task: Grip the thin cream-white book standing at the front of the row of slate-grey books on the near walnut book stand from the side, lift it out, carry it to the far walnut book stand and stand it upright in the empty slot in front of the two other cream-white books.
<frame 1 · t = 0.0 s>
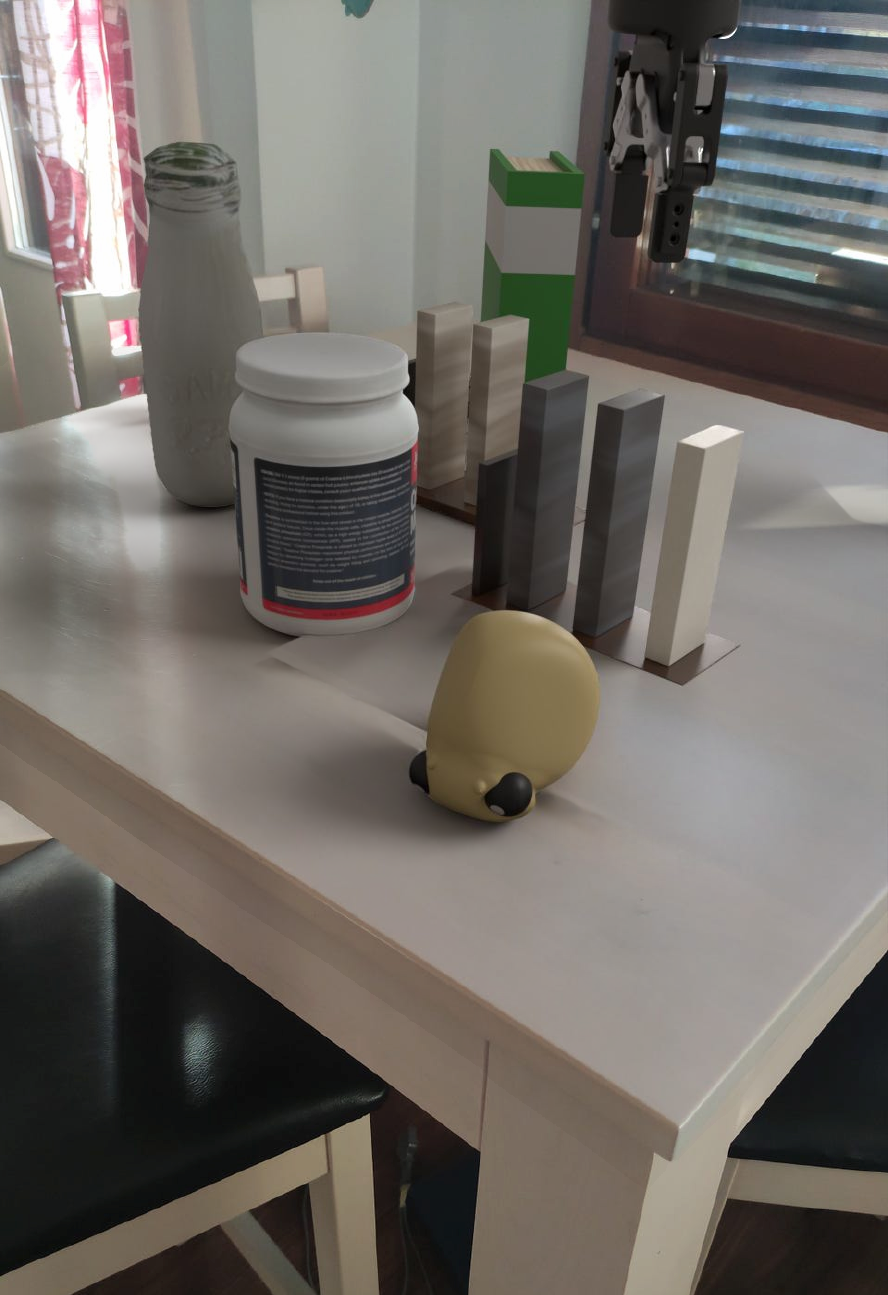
hand: (643, 248, 75), 25 cm above the table, tool pointing down, fingers open, 8 cm apart
grey book stand: (613, 639, 84), on the table
yellow toy with eyes: (500, 784, 69), on the table
supplement tub: (328, 610, 87), on the table
hardback book: (516, 401, 132), on the table
glass bottle: (215, 503, 103), on the table
creature: (450, 440, 120), on the table
thin white book: (674, 649, 81), point 1 cm above the table, touching grey book stand
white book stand: (498, 511, 104), on the table
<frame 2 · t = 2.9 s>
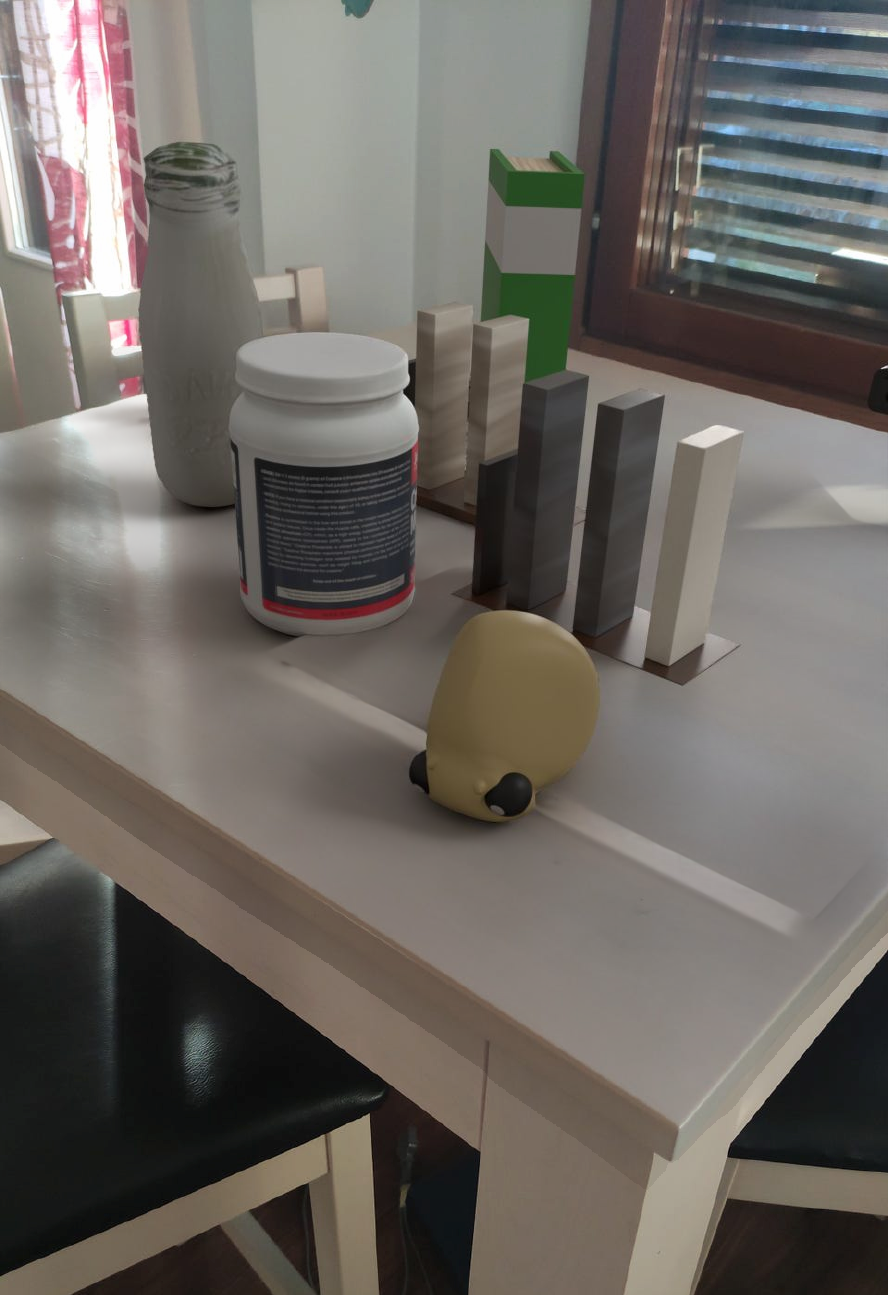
nothing on the table moved.
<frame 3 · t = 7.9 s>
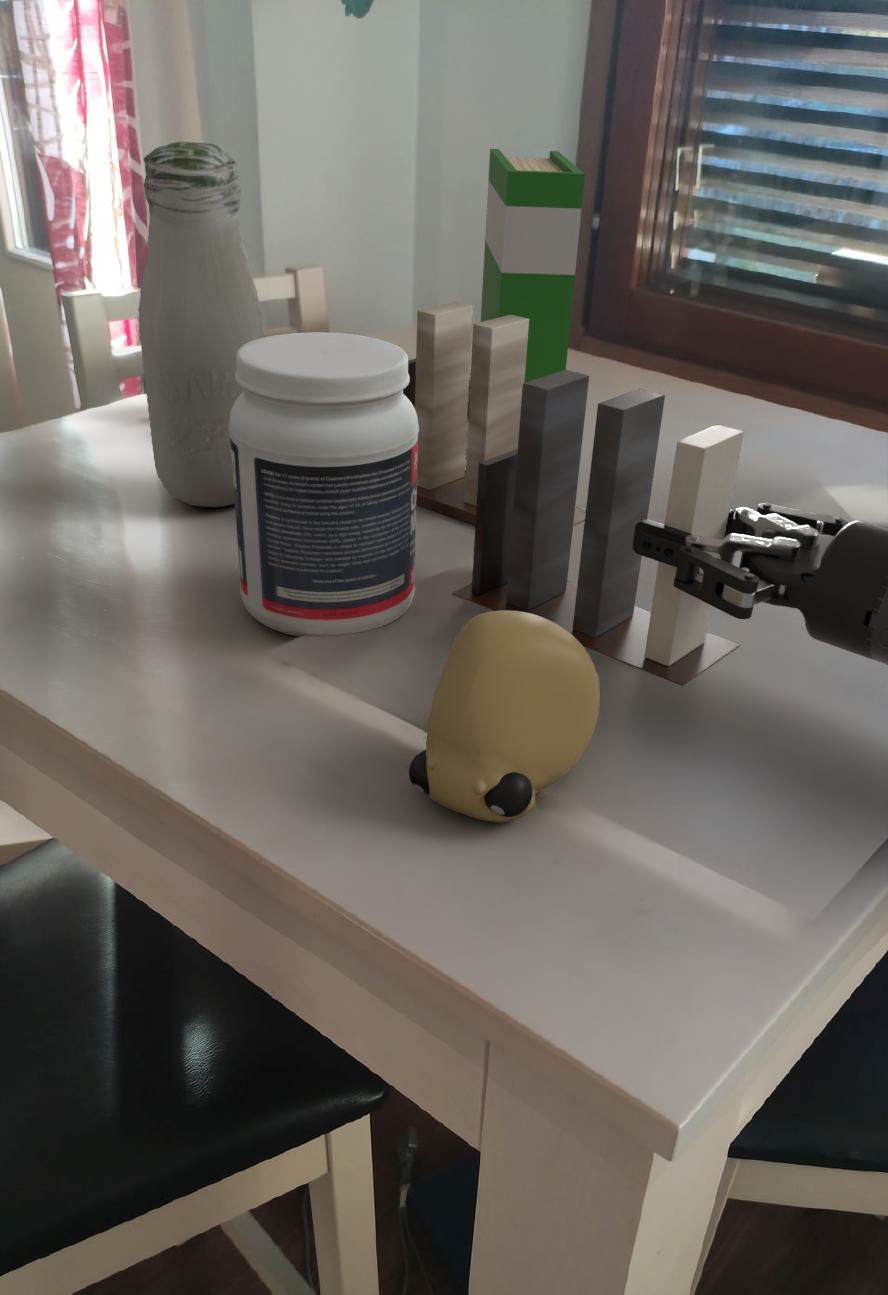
hand: (660, 523, 78), 10 cm above the table, tool horizontal, fingers closed on thin white book, 5 cm apart
thin white book: (674, 649, 81), point 1 cm above the table, touching grey book stand, gripper
everything else where it was.
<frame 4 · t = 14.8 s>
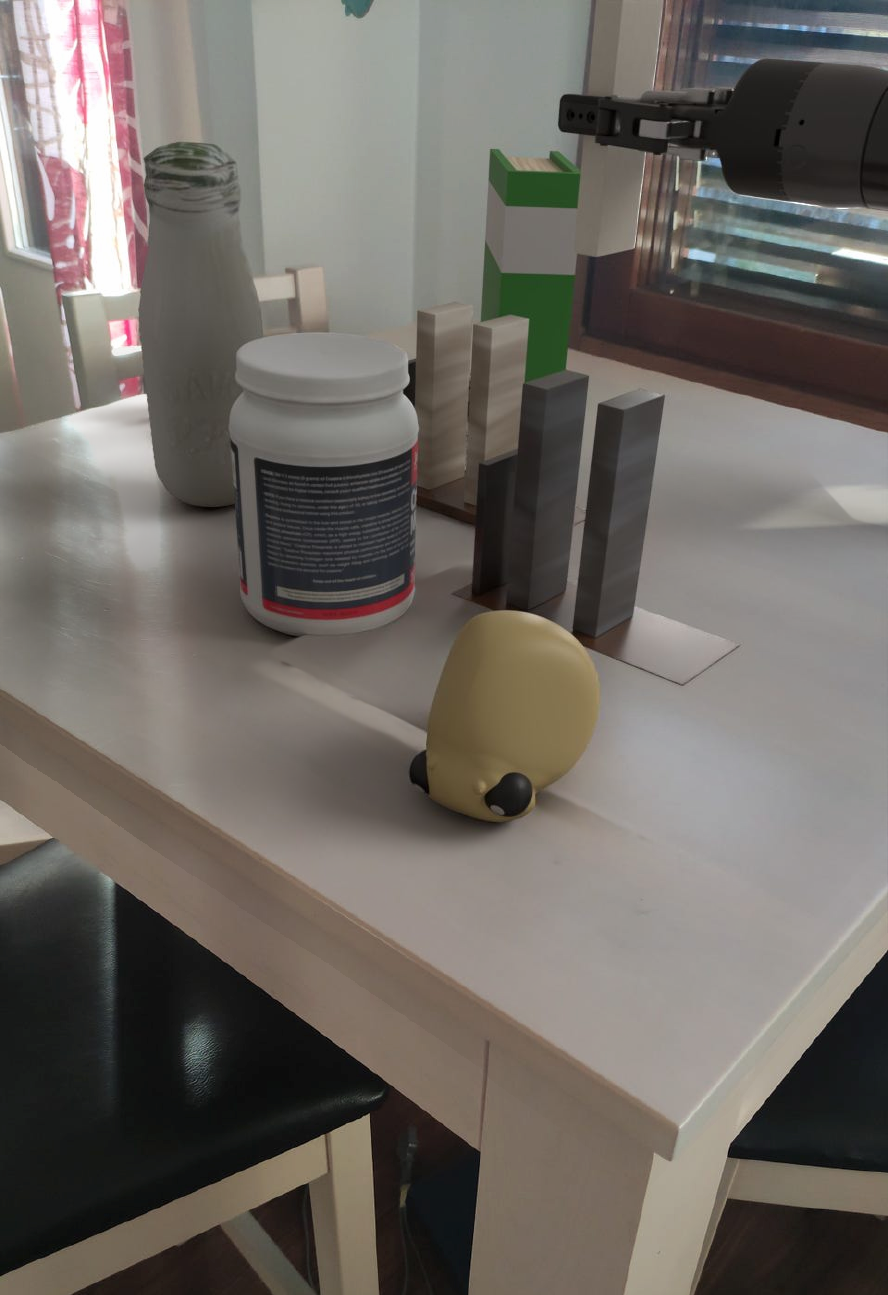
hand: (586, 110, 80), 32 cm above the table, tool horizontal, fingers closed on thin white book, 5 cm apart
thin white book: (604, 250, 83), point 23 cm above the table, touching gripper
everything else where it was.
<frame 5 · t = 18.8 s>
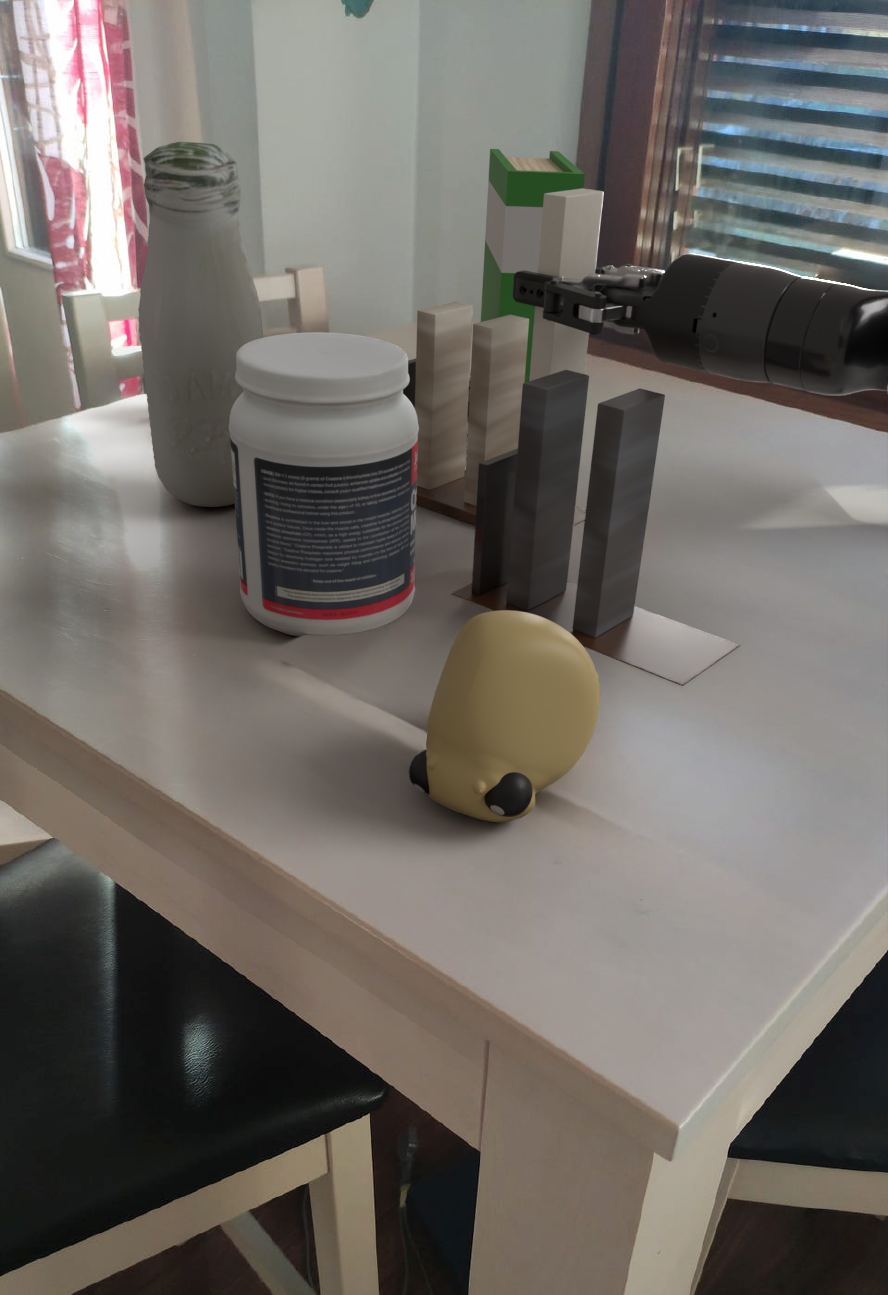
hand: (538, 280, 91), 20 cm above the table, tool horizontal, fingers closed on thin white book, 5 cm apart
thin white book: (555, 397, 95), point 11 cm above the table, touching gripper
everything else where it was.
when the fingers open (9 cm above the table, at t = 22.0 s): thin white book stays where it is, resting on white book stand.
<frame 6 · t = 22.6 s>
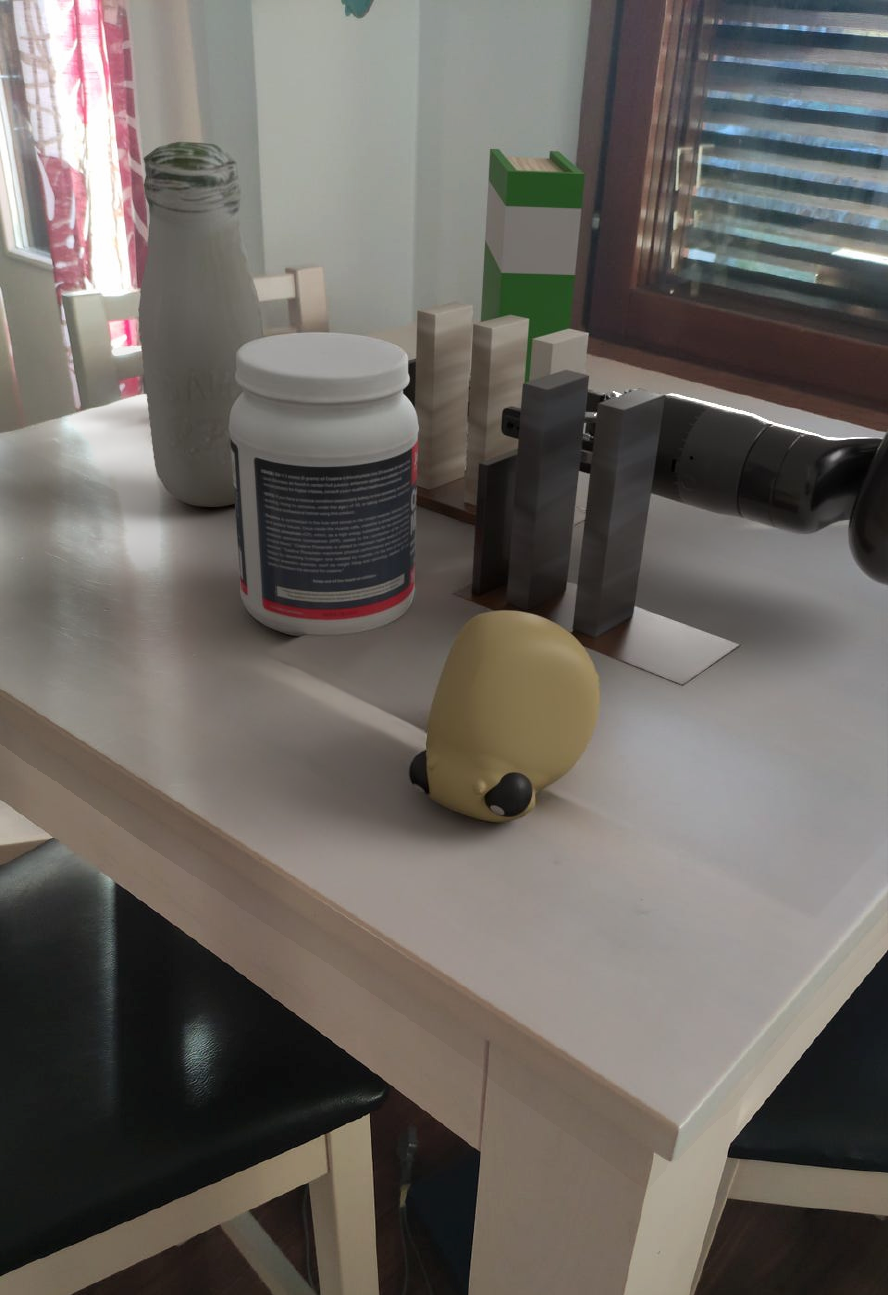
hand: (535, 408, 97), 10 cm above the table, tool horizontal, fingers open, 8 cm apart
thin white book: (544, 516, 101), point 1 cm above the table, touching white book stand
everything else where it was.
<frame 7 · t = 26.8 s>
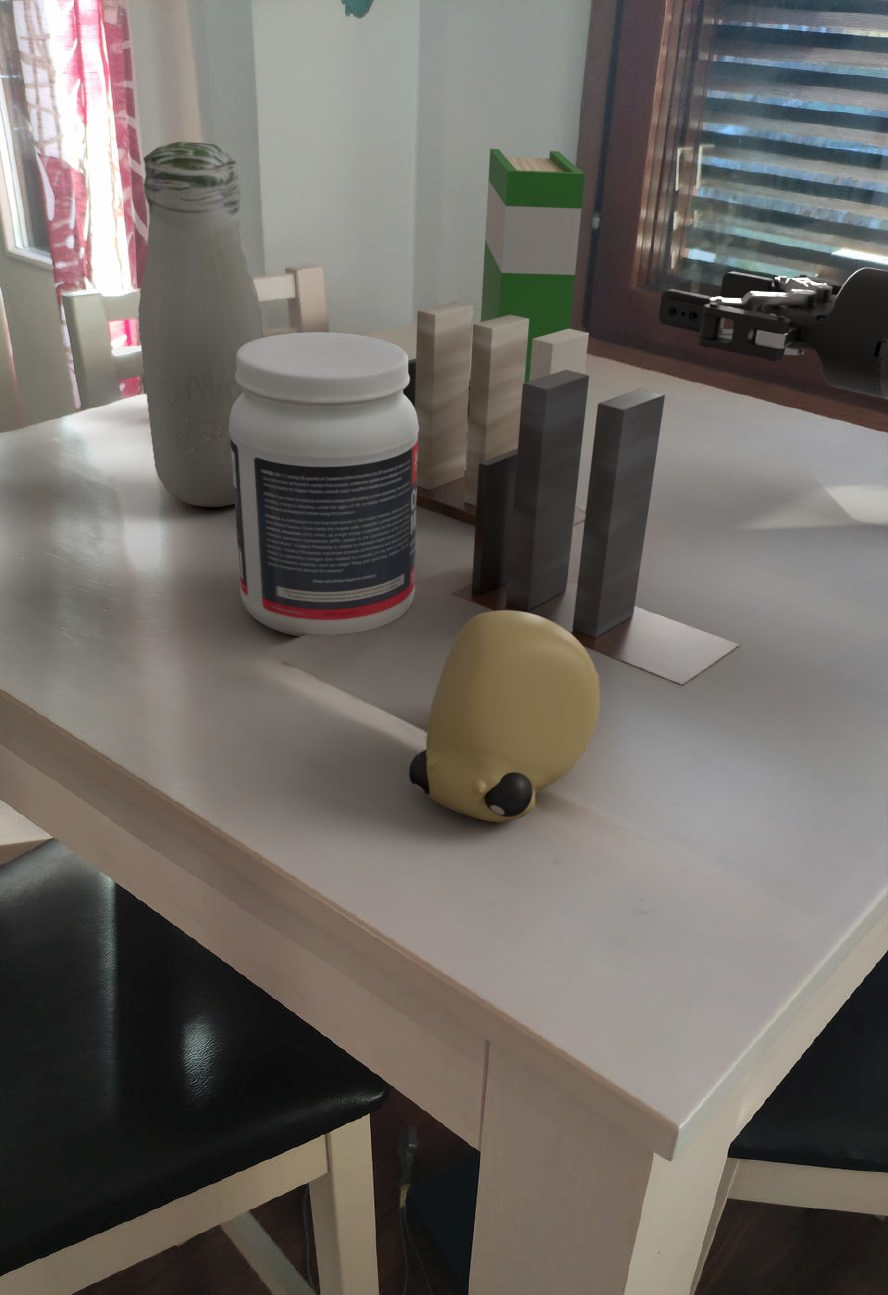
hand: (693, 296, 84), 21 cm above the table, tool horizontal, fingers open, 8 cm apart
nothing on the table moved.
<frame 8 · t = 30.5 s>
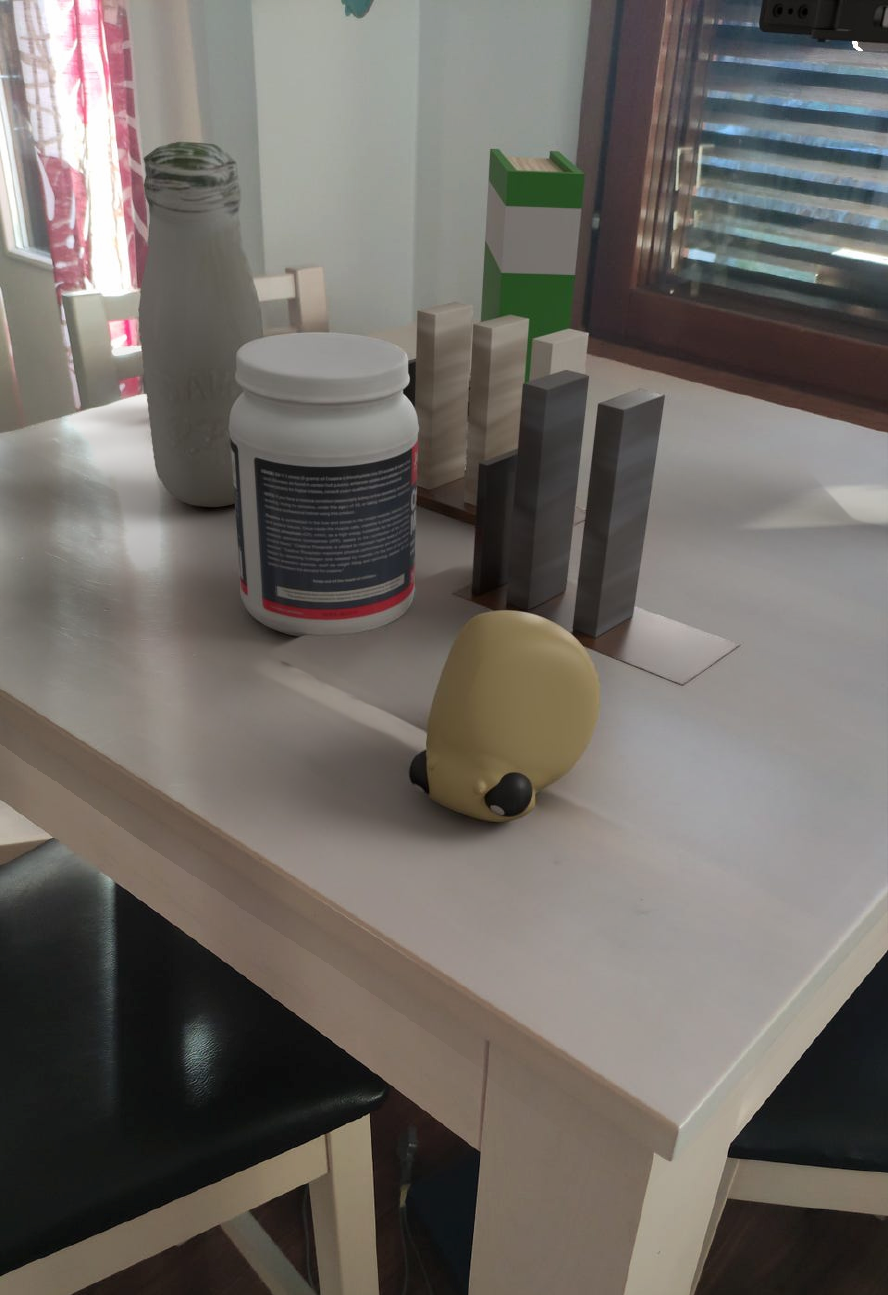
hand: (796, 10, 72), 38 cm above the table, tool horizontal, fingers open, 8 cm apart
nothing on the table moved.
at the end: thin white book 0.1 cm from the target spot on the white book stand, point 1.0 cm above the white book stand's base; thin white book tilted 0°; the gripper is holding nothing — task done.
